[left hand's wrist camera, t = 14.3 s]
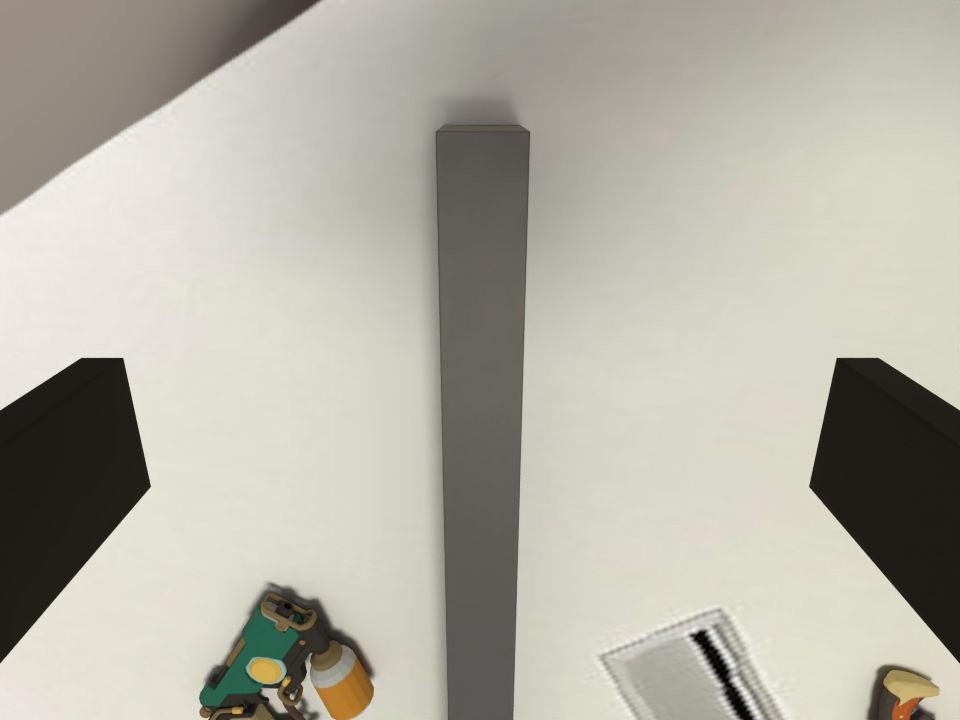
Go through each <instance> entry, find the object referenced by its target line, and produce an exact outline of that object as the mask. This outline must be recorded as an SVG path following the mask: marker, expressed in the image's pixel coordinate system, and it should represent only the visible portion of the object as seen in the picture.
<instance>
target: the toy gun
mask: <svg viewBox="0 0 960 720" xmlns="http://www.w3.org/2000/svg"><path fill="white" fill-rule="evenodd" d="M883 684H884V688H883V691H882V694H881V697H880V701H879V713H878V720H934V719H932V718H930V717H929V716H927V715H926V714H925V713H924V712H923V711H922V710H921V709H918V710H916V711H915V712H914V713H913V714H912V711H913V709H914V708H915V706H916V705H917V704H918V703H919V702H920V701H921V700H922V699H923V698H925V697H932V696H938V695H939V687H937V686H936V685H935V684H933V683H932V682H930V681H928V680H926V679H924V678H922V677H919V676H917V675H915V674H912V673H909V672H905V671H898V670H892V671H890V672H889V673H888V675H887V676H886V677H885V679H884V681H883ZM911 714H912V715H911Z"/></svg>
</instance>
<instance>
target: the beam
mask: <svg viewBox="0 0 960 720" xmlns="http://www.w3.org/2000/svg"><path fill="white" fill-rule="evenodd" d="M529 149H530V132H529V131H528V130H526V129H525V128H523V127H522V126H520V125H444V126H443V127H441V128H440V129H439V130H437V131H436V169H437V215H438V261H439V308H440V354H441V401H442V447H443V494H444V540H445V586H446V633H447V679H448V720H513V707H514V672H515V637H516V602H517V568H518V533H519V498H520V463H521V428H522V393H523V358H524V323H525V288H526V253H527V218H528V184H529Z"/></svg>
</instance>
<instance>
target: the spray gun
mask: <svg viewBox="0 0 960 720" xmlns="http://www.w3.org/2000/svg"><path fill="white" fill-rule="evenodd" d="M268 598H271V599H274V600H276V601H278V602H280V604H279V606H277V605H276V604H274V603H272V602H266V600H267V599H268ZM294 611H297V612H298V613H295V614H293V613H294ZM299 613H300V614H302V615H304V616H307V615H312V616H311V617H310V616H308V617H306V618H305V619H304V621H301V617H300V614H299ZM310 653H313V654H312V656H311V659H310V662H311V665H312V666H311V669H310V676H311V681H312V683H313V685H314V687H315V689H316V691H317V692H318V694H319V696H320V698H321V699H322V701H323V703H324V705H325V706H326V708H327V710H328V712H329V713H330V715H331V717H332V718H334V719H336V720H350V719H352V718H355V717H357V716H358V715H359V714H361V713H362V712H363V711H364V710H365V709H366V708H367V706H368V705H369V704H370V702H371V700H372V698H373V694H374V687H373V685H372V683H371V681H370V679H369V678H368V676H367V674H366V673H365V671H364V669H363V667H362V666H361V664H360V662H359V660H358V659H357V657H356V655H355V653H354V652H353V651H352V650H351V649H350V648H349V647H347V646H345V645H340V643H339V642H337V641H329V639H328V637H327V635H326V632H325V630H324V628H323V626H322V624H321V622H320V620H319V618H318V617H317V614H316V612H315V611H314V610H307V611H306V610H304V609H302V608H300V607H298V606H296V605H295V604H293V603H291V602H289V601H287V600H285V599H283V598H281V597H280V596H278V595H276V594H273V593H268V594H267V595H266V596H265V597H264V599H263V601H262V603H261V604H260V605H259V606H258V608H257V609H256V611H255V612H254V614H253V615H252V617H251V618H250V620H249V621H248V623H247V624H246V626H245V627H244V629H243V636H242V638H241V639H240V641H239V642H238V644H237V645H236V647H235V648H234V650H233V651H232V653H231V654H230V656H229V657H228V659H227V660H226V666H225V667H224V669H223V670H222V672H221V673H220V674H214V675H213V676H212V677H211V678H210V679H209V681H208V682H207V684H206V685H205V687H204V688H203V690H202V691H201V693H200V697H199V700H200V703H201V705H203V706H202V708H201V709H200V715H201V717H203V718H208V717H210V718H209V720H215V719H216V720H275V719H274V718H273V716H272V715H271V714H270V713H269V711H268V710H267V709H266V708H265V706H264V705H263V704H264V703H267V702H269V698H268V697H264V696H262V695H261V694H260V692H259V690H260V689H261V688H262V687H264V688H277V689H278V693H277V694H278V697H279V699H280V700H281V701H282V702H283V705H284V707H285V708H286V710H287V711H288V713H289V714H290V715H291V716H292V717H293V718H294V719H295V720H305V718H304V717H303V715H302V714H301V713H300V712H299V711H298V710H297V709H296V708H295V707H294V706H295V705H297V704H298V702H299V700H300V698H301V696H302V692H303V686H302V685H301V683H302V681H303V680H304V679H305V676H306V674H307V670H306V666H305V659H306V658H307V656H308V655H309V654H310ZM296 689H298V691H297V694H296V697H295V699H294V700H291V699H290V693H291V694H293V693H294V692H295V691H296ZM210 715H211V716H210Z"/></svg>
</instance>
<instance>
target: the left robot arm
mask: <svg viewBox="0 0 960 720" xmlns="http://www.w3.org/2000/svg"><path fill="white" fill-rule="evenodd" d="M150 487H151V485H150V480H149V476H148V471H147V466H146V462H145V457H144V452H143V448H142V443H141V438H140V434H139V429H138V425H137V420H136V415H135V411H134V406H133V401H132V397H131V392H130V387H129V383H128V378H127V373H126V369H125V364H124V359H123V358H81V359H79V360H78V361H76V362H75V363H73V364H71V365H70V366H68V367H67V368H65V369H64V370H62V371H61V372H59V373H58V374H56V375H54V376H53V377H51V378H50V379H48V380H47V381H45V382H44V383H42V384H40V385H39V386H37V387H36V388H34V389H33V390H31V391H30V392H28V393H27V394H25V395H23V396H22V397H20V398H19V399H17V400H16V401H14V402H13V403H11V404H10V405H8V406H6V407H5V408H3V409H2V410H0V663H1V662H2V661H3V660H4V658H5V657H6V656H7V655H8V654H9V653H10V651H11V650H12V649H13V648H14V647H15V645H16V644H17V643H18V642H19V641H20V640H21V638H22V637H23V636H24V635H25V634H26V633H27V631H28V630H29V629H30V628H31V627H32V626H33V624H34V623H35V622H36V621H37V620H38V619H39V617H40V616H41V615H42V614H43V613H44V611H45V610H46V609H47V608H48V607H49V606H50V604H51V603H52V602H53V601H54V600H55V599H56V597H57V596H58V595H59V594H60V593H61V592H62V590H63V589H64V588H65V587H66V586H67V584H68V583H69V582H70V581H71V580H72V579H73V577H74V576H75V575H76V574H77V573H78V572H79V570H80V569H81V568H82V567H83V566H84V565H85V563H86V562H87V561H88V560H89V559H90V558H91V556H92V555H93V554H94V553H95V552H96V550H97V549H98V548H99V547H100V546H101V545H102V543H103V542H104V541H105V540H106V539H107V538H108V536H109V535H110V534H111V533H112V532H113V531H114V529H115V528H116V527H117V526H118V525H119V524H120V522H121V521H122V520H123V519H124V518H125V516H126V515H127V514H128V513H129V512H130V511H131V509H132V508H133V507H134V506H135V505H136V504H137V502H138V501H139V500H140V499H141V498H142V497H143V495H144V494H145V493H146V492H147V491H148V489H149V488H150ZM809 487H810V488H811V489H812V491H813V492H814V493H815V494H816V495H817V497H818V498H819V499H820V500H821V501H822V502H823V504H824V505H825V506H826V507H827V508H828V509H829V511H830V512H831V513H832V514H833V515H834V516H835V518H836V519H837V520H838V521H839V522H840V524H841V525H842V526H843V527H844V528H845V529H846V531H847V532H848V533H849V534H850V535H851V536H852V538H853V539H854V540H855V541H856V542H857V543H858V545H859V546H860V547H861V548H862V549H863V550H864V552H865V553H866V554H867V555H868V556H869V558H870V559H871V560H872V561H873V562H874V563H875V565H876V566H877V567H878V568H879V569H880V570H881V572H882V573H883V574H884V575H885V576H886V577H887V579H888V580H889V581H890V582H891V583H892V585H893V586H894V587H895V588H896V589H897V590H898V592H899V593H900V594H901V595H902V596H903V597H904V599H905V600H906V601H907V602H908V603H909V604H910V606H911V607H912V608H913V609H914V610H915V611H916V613H917V614H918V615H919V616H920V617H921V619H922V620H923V621H924V622H925V623H926V624H927V626H928V627H929V628H930V629H931V630H932V631H933V633H934V634H935V635H936V636H937V637H938V638H939V640H940V641H941V642H942V643H943V644H944V645H945V647H946V648H947V649H948V650H949V651H950V653H951V654H952V655H953V656H954V657H955V658H956V660H957V661H958V662H959V663H960V410H958V409H957V408H955V407H954V406H952V405H950V404H949V403H947V402H946V401H944V400H943V399H941V398H940V397H938V396H937V395H935V394H933V393H932V392H930V391H929V390H927V389H926V388H924V387H923V386H921V385H920V384H918V383H916V382H915V381H913V380H912V379H910V378H909V377H907V376H906V375H904V374H902V373H901V372H899V371H898V370H896V369H895V368H893V367H892V366H890V365H889V364H887V363H885V362H884V361H882V360H881V359H879V358H837V359H836V364H835V369H834V373H833V378H832V383H831V387H830V392H829V397H828V401H827V406H826V411H825V415H824V420H823V425H822V429H821V434H820V438H819V443H818V448H817V452H816V457H815V462H814V466H813V471H812V476H811V480H810V485H809Z"/></svg>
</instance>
